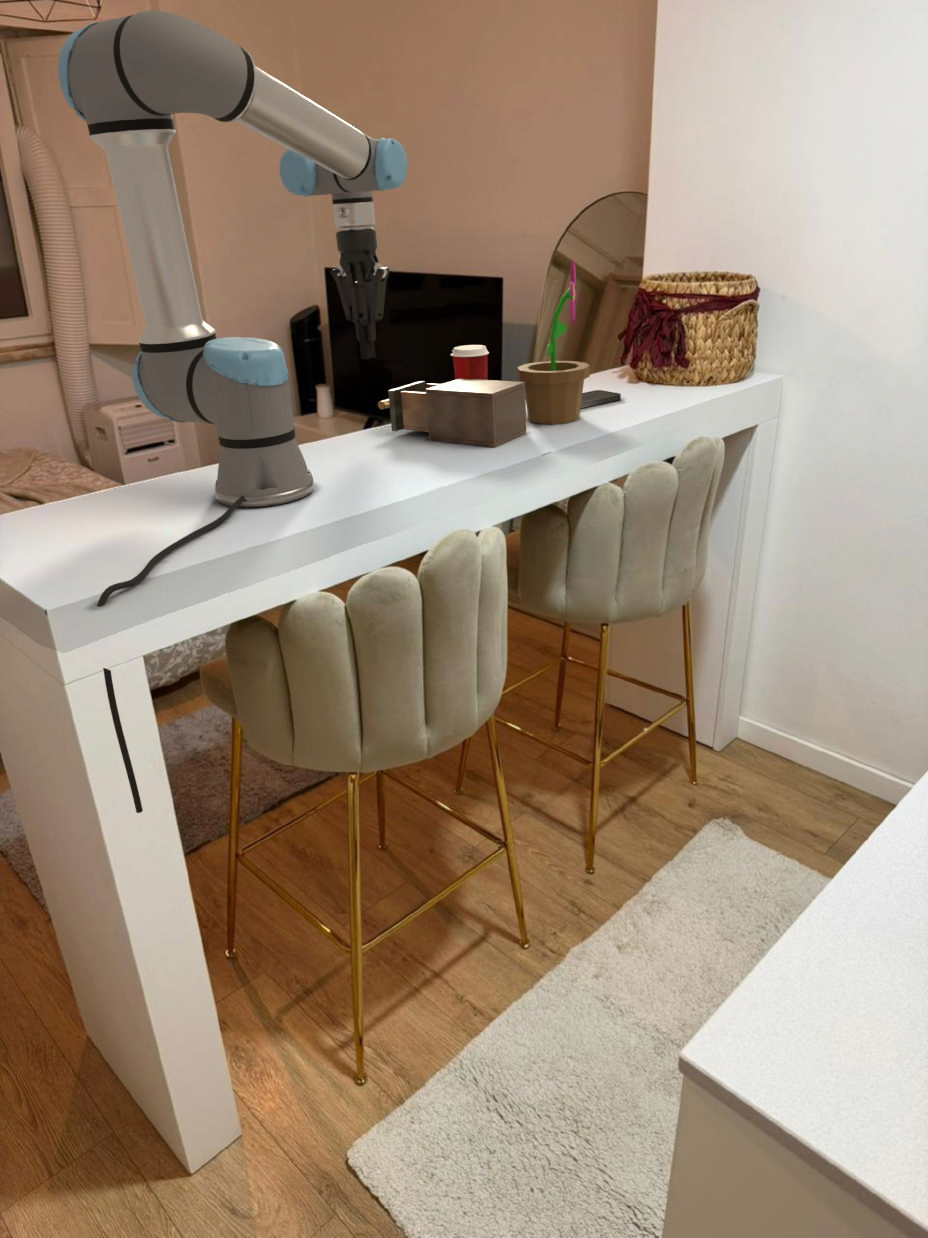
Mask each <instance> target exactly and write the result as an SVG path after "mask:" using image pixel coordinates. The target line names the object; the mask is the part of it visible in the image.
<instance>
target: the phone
mask: <svg viewBox="0 0 928 1238" xmlns="http://www.w3.org/2000/svg"><path fill="white" fill-rule="evenodd" d="M621 399H622V394H621V393H619V392H614V391H608V390H601V389H596V390H590V391H586V392H582V400H581V407H580V409H585V408H588V407H593V406H598V405H603V404H607V403H610V402H616V401H621Z"/></svg>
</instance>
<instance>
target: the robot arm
mask: <svg viewBox="0 0 928 1238" xmlns="http://www.w3.org/2000/svg"><path fill="white" fill-rule="evenodd" d="M57 75H58V82H59V87H60V89H61V93H62V95H63V97H64V99H65V101H66V103H67V104H68V106H69V108H70V109H73V111H75V114H76V115H77V117H78V118H80V119H81V120H83V121H84V122H86V125H87V130H88V133H89V139H90V140H91V141H93V142H94V143H95V144H96V145H98V146H99V147H100V148H101V149H102V150H103V151H104V153H105V157H106V160H107V165H108V171H109V175H110V180H111V183H112V188H113V191H114V195H115V201H116V204H117V209H118V214H119V217H120V222H121V226H122V231H123V235H124V239H125V243H126V247H127V252H128V256H129V260H130V265H131V269H132V273H133V278H134V282H135V287H136V291H137V295H138V300H139V303H140V307H141V312H142V317H143V321H144V325H145V327H144V330H143V331H142V333H141V334H140V336H139V337H138V344H139V348H140V352H139V353H138V354H137V356H136V357H135V359H134V361H135V364H134V365H133V366H132V371H131V376H132V383H133V387H134V391H135V393H136V396H137V398H138V399H139V400H140V402H141V403H142V405H143V406H144V407H145V408H146V409H147V410H149V412H150V413H152V414H154V415H155V416H158V417H160V418H161V419H166V420H170V421H173V422H176V423H196V424H204V425H216V432H217V437H218V444H219V449H220V450H219V458H218V466H217V467H218V468H217V478H216V480H215V485H214V492H215V496H216V497H215V498H216V501H218V502H219V504H223V505H225V506H229V507H228V509H226V511H225V512H224V513H223V514H222V515H221V516H219V517H217V518H216V519H215V520H214V521H211V522H209V523H208V524H206V525H204V526H202V527H200V528H198V529H196V530H194V531H192V532H190V533H188V534H187V535H185V536H183V537H182V538H179V540H177V541H175V542H173V543H171V544H170V545H168V546H167V547H165V548H164V549H162V550H161V551H159V552H158V553H157V554H155V555H154V556H153V557H152V558H151V559H150V560H149V561H148V563H147V564H146V565H145V566H144V567H143V568H142V570H141V571H140V572H139V573H138V574H137V575H135V576H134V577H132V578H131V579H128V580H126V581H121V582H117V583H113V584H111V585H109V586H108V587H106V589H105V590H104V591H103V592H102V593H101V595H100V596H99V599H98V602H97V605H96V607H98V608H99V607H104V606H105V605H106V603H107V601H108V598H109V597H110V596H111V595H112V594H113V593H115V592H116V591H120V590H123V589H127V588H131V587H134V586H136V585H138V584H140V582H142V581H143V580H144V579H145V578H146V577H147V576H148V575H149V573H150V572H151V571H152V569H153V568H154V567H155V566H156V564H157V563H159V561H161V560H162V559H164V558H165V557H166V556H167V555H169V554H171V553H172V552H174V551H175V550H177V549H179V548H180V547H182V546H184V545H185V544H187V543H189V542H190V541H192V540H194V539H195V538H197V537H199V536H201V535H203V534H204V533H207V532H209V531H211V530H212V529H213V530H214V528H216V527H218V526H219V525H221V524H223V522H225V521H227V519H228V518H229V517H230V516H231V515H233V512H235V511H236V510H237V508H260V507H268V506H270V507H271V506H277V505H282V504H286V503H291V502H294V501H297V500H300V499H302V498H304V497H307V496H308V495H310V494H312V492H313V491H314V490H315V483H314V477H313V475H312V471H311V470H310V469H309V468H308V465H307V463H306V460H305V458H304V455H303V453H302V451H301V449H300V447H299V444H298V442H297V437H296V429H295V422H294V421H295V420H294V412H293V402H292V396H291V395H292V394H291V386H290V377H289V376H290V375H289V370H288V368H287V364H286V358H285V354H284V351H283V349H282V347H281V346H280V345H279V344H277V343H275V342H273V341H271V340H268V339H262V338H257V337H250V336H249V337H240V336H228V337H219V338H218V337H217V334H216V329H215V328H213V327H212V326H211V325H210V324H208V323H207V322H206V321H204V319H203V315H202V309H201V304H200V299H199V295H198V289H197V286H196V284H197V283H196V281H195V274H194V270H193V265H192V260H191V255H190V250H189V246H188V241H187V235H186V232H185V225H184V222H183V217H182V211H181V207H180V202H179V196H178V192H177V191H178V190H177V186H176V181H175V176H174V171H173V167H172V163H171V157H170V153H169V152H170V151H169V144H170V143H171V141H172V139H173V138H174V136H175V135H176V126H175V122H174V116H173V115H174V114H198V115H204V116H208V117H210V118H213V119H214V120H216V121H218V122H220V123H225V124H226V123H227V124H228V123H232V122H237V123H239V124H240V125H242V126H244V127H246V128H248V129H250V130H252V131H253V132H256V133H257V134H259V135H261V136H263V137H265V138H267V139H269V140H270V141H272V142H275V143H277V144H278V145H280V146H282V147H284V148H286V150H285V152H284V153H282V155H281V158H280V160H279V176H280V180H281V183H282V184H283V187H284V188H285V189H286V190H287V191H288V192H289V193H290V194H292V195H294V196H301V197H302V196H303V197H305V198H306V197H311V196H326V195H331V202H332V209H333V218H334V227H335V228H336V229H338V231H336V233H335V238H336V239H335V240H336V246H337V251H338V253H340V258H339V264H338V265H337V266H336V268H332V269H331V270H330V274H331V277H332V279H334V281H335V284H336V288H337V291H338V294H339V298H340V301H341V305H342V308H343V312H344V316H345V319H346V320H347V321H350V322H353V323H354V326H355V335H356V340H357V342H359V349H360V351H359V352H360V359H361V360H369V359H375V358H376V357H377V356H376V355H377V354H376V346H375V341H377V329H376V323H377V322H379V321H380V320H383V319H384V313H385V312H384V311H385V299H386V288H387V287H386V286H387V280H388V277H389V275H390V272H391V271H390V268H389V267H388V266H385V267H384V266H383V265H382V264H381V263H379V258H378V256H377V249H378V241H377V240H378V239H377V231H376V230H375V228H373V226H375V225H376V217H375V207H374V198H373V192H385V191H386V190H387V191H388V190H393V189H398V188H399V187H401V186H402V184H403V183H404V181H405V180H406V177H407V169H408V159H407V155H406V151H405V149H404V147H403V146H402V144H401V143H400V142H399V141H398V140H397V139H395V138H385V137H380V138H378V139H376V138H372V137H370V136H369V135H367V134H365V133H363V132H362V131H360V130H359V129H357V128H355V127H354V126H352V125H351V124H350V123H348V122H346V121H345V120H343V119H341V118H340V117H338V116H336V115H335V114H333V113H332V112H330V111H329V110H327V109H325V108H324V107H322V106H320V105H319V104H317V103H316V102H314V101H313V100H311V99H310V98H308V97H306V96H305V95H303V94H301V93H299V92H298V91H296V90H294V89H293V88H292V87H290V86H288V85H287V84H285V83H284V82H282V81H281V80H279V79H277V78H276V77H274V76H273V75H271V74H269V73H268V72H266V71H264V70H263V69H261V68H260V67H258V66H256V65H255V62H254V59H253V57H252V55H251V54H250V53H249V52H248V51H247V50H246V49H245V48H243V47H242V46H240V45H238V44H236V43H235V42H233V41H232V40H231V39H229V38H227V37H225V36H224V35H222V34H220V33H218V32H216V31H215V30H212V29H210V28H209V27H206V26H204V25H203V24H201V23H199V22H196V21H194V20H191V19H190V18H187V17H184V16H182V15H178V14H175V13H171V12H168V11H164V10H162V11H160V10H152V9H151V10H145V11H140V12H137V13H134V14H130V15H126V16H120V17H115V18H110V19H105V20H101V21H94V22H92V23H90V24H87V25H85V26H84V27H82V28H79V29H77V30H75V31H74V32H72V33H71V34H69V36H68V37H66V40H65V41H64V44H63V45H61V48H60V51H59V56H58V62H57ZM102 669H103V676H104V683H105V688H106V694H107V699H108V705H109V708H110V709H109V710H110V713H111V719H112V721H113V722H112V723H113V726H114V730H115V734H116V738H117V741H118V745H119V746H118V747H119V750H120V753H121V756H122V761H123V764H124V769H125V772H126V776H127V779H128V783H129V787H130V791H131V795H132V799H133V803H134V808H135V813H137V814H140V813H143V812H144V810H143V805H142V801H141V797H140V791H139V788H138V783H137V779H136V776H135V772H134V769H133V765H132V760H131V757H130V752H129V749H128V745H127V742H126V738H125V737H126V736H125V734H124V730H123V726H122V722H121V716H120V713H119V709H118V704H117V700H116V693H115V689H114V688H115V687H114V683H113V676H112V671H111V669H109V668H105V667H102Z"/></svg>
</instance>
